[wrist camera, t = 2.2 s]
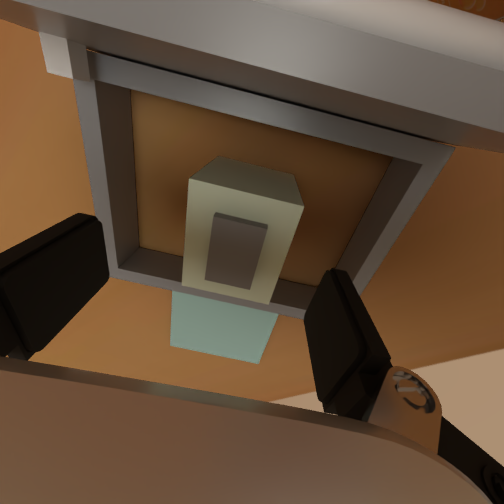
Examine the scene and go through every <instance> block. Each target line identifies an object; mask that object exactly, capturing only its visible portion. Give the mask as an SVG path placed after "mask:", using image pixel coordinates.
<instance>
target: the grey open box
mask: <svg viewBox="0 0 504 504" xmlns="http://www.w3.org/2000/svg"><path fill="white" fill-rule="evenodd" d="M0 19H3V20H6V21H9V22H11V23H14V24H17V25H20V26H23V27H26V28H29V29H31V30H34V31H37V32H39V35H40V40H41V45H42V49H43V54H44V59H45V63H46V68H47V72H49V73H52V74H56V75H60V76H64V77H68V78H72V79H73V82H74V88H75V94H76V100H77V106H78V112H79V118H80V125H81V131H82V137H83V143H84V149H85V155H86V161H87V167H88V173H89V179H90V185H91V191H92V197H93V203H94V209H95V215H96V217H97V218H98V220H99V221H101V223H102V226H103V232H104V239H105V246H106V253H107V259H108V266H109V273H110V276H109V277H112V278H117V279H121V280H126V281H131V282H135V283H140V284H144V285H149V286H153V287H158V288H162V289H167V290H171V291H176V292H181V293H185V294H190V295H194V296H199V297H203V298H208V299H212V300H217V301H222V302H226V303H231V304H235V305H240V306H244V307H249V308H253V309H258V310H262V311H267V312H272V313H276V314H281V315H285V316H290V317H294V318H299V319H303V320H304V315H305V312H306V310H307V308H308V306H309V304H310V302H311V300H312V298H313V296H314V294H315V292H316V290H317V288H316V287H312V286H308V285H303V284H299V283H294V282H290V281H286V280H281V279H278V280H277V283H276V286H275V288H274V291H273V294H272V297H271V299H270V302H269V305H268V304H263V303H259V302H254V301H250V300H245V299H241V298H236V297H232V296H227V295H223V294H218V293H214V292H209V291H205V290H200V289H196V288H191V287H187V286H182V273H183V258H184V257H180V256H176V255H171V254H167V253H162V252H158V251H153V250H149V249H145V248H140V247H139V235H138V217H137V200H136V183H135V166H134V149H133V132H132V115H131V98H130V89H133V90H137V91H141V92H145V93H149V94H152V95H156V96H160V97H164V98H168V99H172V100H176V101H179V102H183V103H187V104H191V105H195V106H199V107H203V108H207V109H210V110H214V111H218V112H222V113H226V114H230V115H234V116H237V117H241V118H245V119H249V120H253V121H257V122H261V123H265V124H268V125H272V126H276V127H280V128H284V129H288V130H292V131H295V132H299V133H303V134H307V135H311V136H315V137H319V138H322V139H326V140H330V141H334V142H338V143H342V144H346V145H350V146H353V147H357V148H361V149H365V150H369V151H373V152H377V153H380V154H384V155H388V156H392V157H393V159H392V161H391V163H390V165H389V167H388V169H387V171H386V173H385V174H384V176H383V178H382V180H381V182H380V184H379V186H378V188H377V190H376V192H375V194H374V196H373V197H372V199H371V201H370V203H369V205H368V207H367V209H366V211H365V213H364V215H363V217H362V218H361V220H360V222H359V224H358V226H357V228H356V230H355V232H354V234H353V236H352V238H351V240H350V241H349V243H348V245H347V247H346V249H345V251H344V253H343V255H342V257H341V259H340V261H339V263H338V264H337V266H336V268H335V269H340V270H344V271H347V273H348V274H349V276H350V278H351V280H352V282H353V284H354V286H355V288H356V290H357V292H358V294H359V296H360V295H361V293H362V292H363V290H364V289H365V287H366V286H367V284H368V283H369V281H370V280H371V278H372V276H373V275H374V273H375V272H376V270H377V269H378V267H379V266H380V264H381V263H382V261H383V259H384V258H385V256H386V255H387V253H388V252H389V250H390V249H391V247H392V246H393V244H394V243H395V241H396V239H397V238H398V236H399V235H400V233H401V232H402V230H403V229H404V227H405V226H406V224H407V222H408V221H409V219H410V218H411V216H412V215H413V213H414V212H415V210H416V209H417V207H418V205H419V204H420V202H421V201H422V199H423V198H424V196H425V195H426V193H427V192H428V190H429V189H430V187H431V185H432V184H433V182H434V181H435V179H436V178H437V176H438V175H439V173H440V172H441V170H442V168H443V167H444V165H445V164H446V162H447V161H448V159H449V158H450V156H451V155H452V153H453V152H454V150H455V147H452V146H448V145H444V144H440V143H446V144H452V145H458V146H464V147H470V148H476V149H482V150H488V151H494V152H500V153H504V23H503V22H499V21H496V20H493V19H489V18H486V17H482V16H479V15H476V14H472V13H469V12H465V11H462V10H459V9H455V8H452V7H448V6H445V5H442V4H438V3H435V2H431V1H428V0H0ZM86 49H88V50H91V51H88V50H86ZM92 51H94V52H92ZM96 52H97V53H96ZM433 141H434V142H433ZM436 142H440V143H436Z"/></svg>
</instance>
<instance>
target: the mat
mask: <svg viewBox="0 0 504 504" xmlns="http://www.w3.org/2000/svg"><path fill="white" fill-rule="evenodd" d="M278 315H279V314H276V313H272V312H267V311H262V310H258V309H253V308H249V307H244V306H240V305H235V304H231V303H226V302H222V301H217V300H212V299H208V298H203V297H199V296H194V295H190V294H185V293H181V292H176V291H172V314H171V339H170V346H175V347H180V348H184V349H189V350H194V351H199V352H204V353H208V354H213V355H218V356H223V357H228V358H232V359H237V360H242V361H247V362H252V363H256V364H259V361H260V359H261V356H262V354H263V351H264V349H265V346H266V344H267V342H268V339H269V337H270V334H271V332H272V329H273V327H274V324H275V322H276V320H277V317H278Z"/></svg>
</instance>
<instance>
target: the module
mask: <svg viewBox="0 0 504 504" xmlns="http://www.w3.org/2000/svg"><path fill="white" fill-rule="evenodd" d="M303 209H304V204H303V201H302V198H301V195H300V192H299V189H298V186H297V183H296V180H295V177H294V175H293V174H289V173H285V172H281V171H277V170H273V169H269V168H265V167H261V166H257V165H253V164H249V163H245V162H242V161H238V160H234V159H230V158H226V157H222V156H218V157H216V158H215V159H214V160H212V161H211V162H210V163H208V164H207V165H206V166H204V167H203V168H202V169H201V170H199V171H198V172H197V173H195V174H194V175H193V176H191V177H190V178H189V186H188V200H187V215H186V229H185V244H184V258H183V273H182V286H187V287H191V288H196V289H200V290H205V291H209V292H214V293H218V294H223V295H227V296H232V297H236V298H241V299H245V300H250V301H254V302H259V303H263V304H268V305H269V302H270V299H271V297H272V294H273V291H274V288H275V286H276V283H277V280H278V277H279V275H280V272H281V269H282V266H283V264H284V261H285V258H286V256H287V253H288V250H289V247H290V245H291V242H292V239H293V236H294V234H295V231H296V228H297V225H298V223H299V220H300V217H301V215H302V212H303Z"/></svg>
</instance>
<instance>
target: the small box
mask: <svg viewBox="0 0 504 504" xmlns="http://www.w3.org/2000/svg"><path fill="white" fill-rule="evenodd" d="M428 1H431V2H435V3H438V4H442V5H445V6H448V7H452V8H455V9H459V10H462V11H465V12H469V13H472V14H476V15H479V16H482V17H486V18H489V19H493V20H496V21H498V20H500V19H502V18H504V0H428Z"/></svg>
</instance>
